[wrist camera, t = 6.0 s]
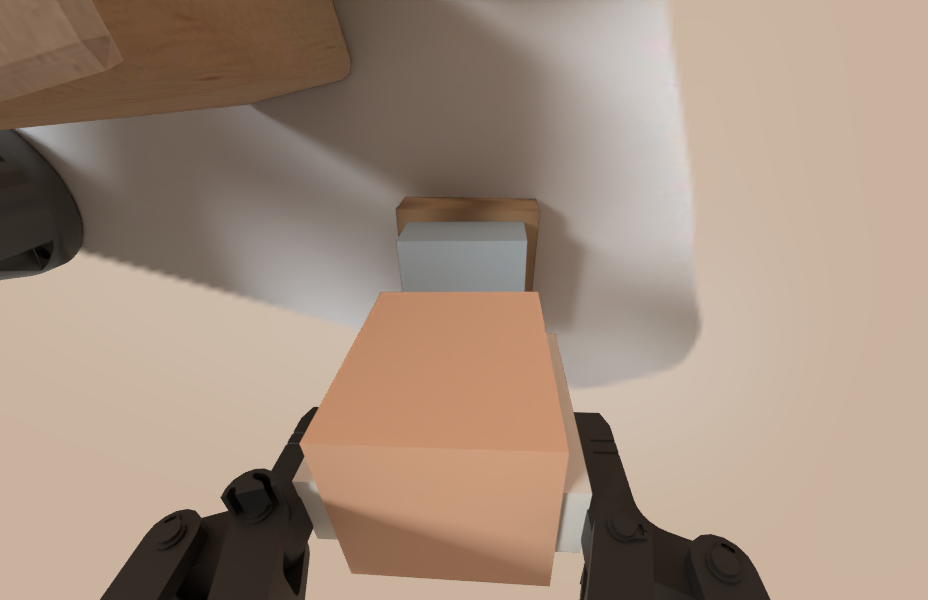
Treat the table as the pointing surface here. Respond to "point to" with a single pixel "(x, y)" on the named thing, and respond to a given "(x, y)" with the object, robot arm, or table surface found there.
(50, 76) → the block
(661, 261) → the table surface
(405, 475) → the stack block
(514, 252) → the block
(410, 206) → the tower base
